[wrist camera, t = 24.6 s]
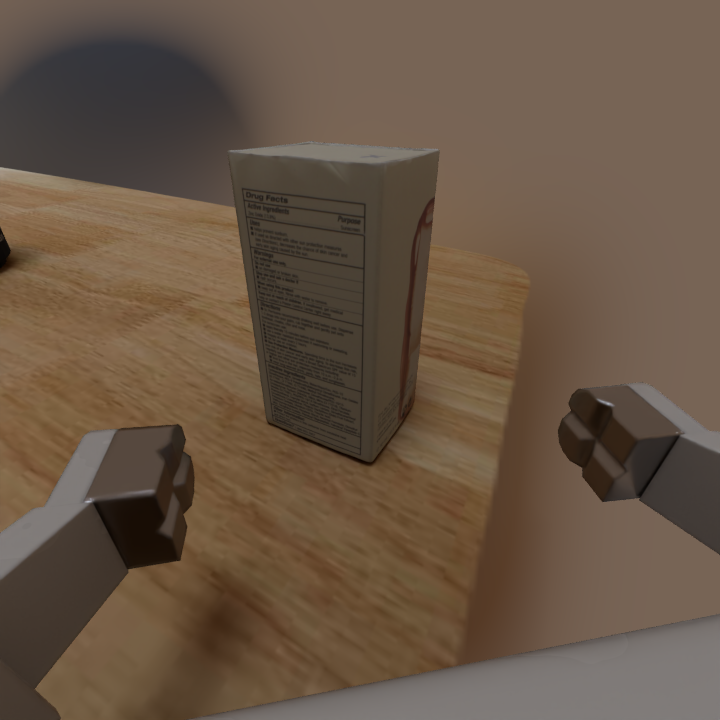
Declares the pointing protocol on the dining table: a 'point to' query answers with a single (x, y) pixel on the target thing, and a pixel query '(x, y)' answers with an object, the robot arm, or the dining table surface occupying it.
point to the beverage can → (3, 249)
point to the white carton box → (336, 283)
